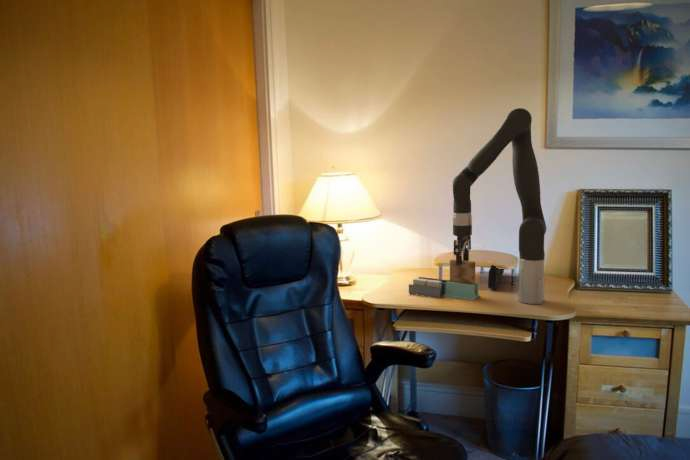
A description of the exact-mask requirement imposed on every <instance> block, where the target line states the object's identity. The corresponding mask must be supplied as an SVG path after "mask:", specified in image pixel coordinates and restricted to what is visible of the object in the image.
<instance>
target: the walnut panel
mask: <svg viewBox="0 0 690 460" xmlns="http://www.w3.org/2000/svg"><path fill="white" fill-rule="evenodd" d="M449 280H450V282H454V283H463V284H471V285H475V282H476V261H474V260H473V261H470V260H469V261H463V259H462V265H456V259H449Z"/></svg>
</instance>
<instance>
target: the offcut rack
mask: <svg viewBox="0 0 690 460" xmlns="http://www.w3.org/2000/svg"><path fill="white" fill-rule="evenodd" d="M417 278H420V279H428V280H437V281H442V283H441V288H436V287H428V286H420V285H413V284H412V283H411V284H408V294H409V293H411V294H410V295H413V294H418V295H417V296H421V295H424V296H423V297H428V296H430V297H429V298H435V297H436V299H441V298H442V297H445V294H446V282H450V279H449V280H448V279H442V278H441V279H440V278H433V277H432V278H431V277H424V276H418V277H417Z"/></svg>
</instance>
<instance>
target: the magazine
mask: <svg viewBox="0 0 690 460" xmlns="http://www.w3.org/2000/svg"><path fill="white" fill-rule="evenodd" d="M504 271H505V268H504V269H498V268H496V266H494V264H492V265H490V268H489V270H488V279H487V280H488V281H487V282H488V283H487V288H488V289H492V290H493V289H497V287H498V286H499V285H500V284H501V282H502V281H501V280H502V279H501V278H503V275H504ZM499 283H500V284H499Z"/></svg>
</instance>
